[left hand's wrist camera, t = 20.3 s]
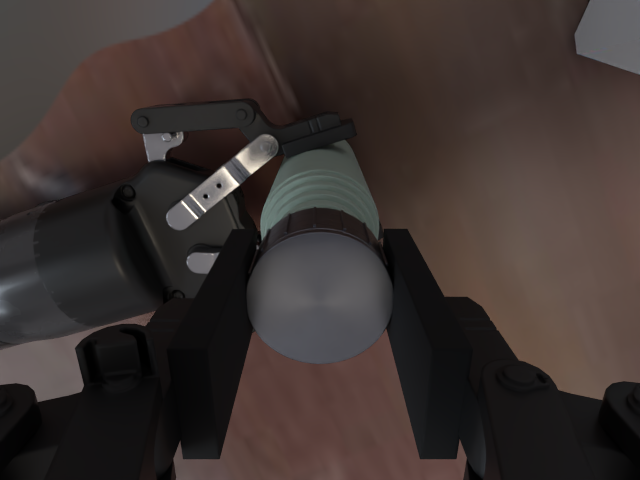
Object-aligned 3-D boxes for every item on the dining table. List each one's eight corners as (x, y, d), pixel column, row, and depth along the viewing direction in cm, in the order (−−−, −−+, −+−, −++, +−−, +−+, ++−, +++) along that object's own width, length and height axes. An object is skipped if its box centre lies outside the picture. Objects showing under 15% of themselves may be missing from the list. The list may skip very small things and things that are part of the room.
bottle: (305, 115, 28) (284, 179, 12) (369, 153, 29) (436, 262, 13) (270, 180, 30) (209, 319, 13) (333, 214, 31) (349, 383, 14)
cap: (396, 307, 15) (408, 347, 13) (277, 335, 15) (270, 378, 13) (368, 190, 14) (377, 213, 11) (237, 225, 14) (222, 253, 12)
